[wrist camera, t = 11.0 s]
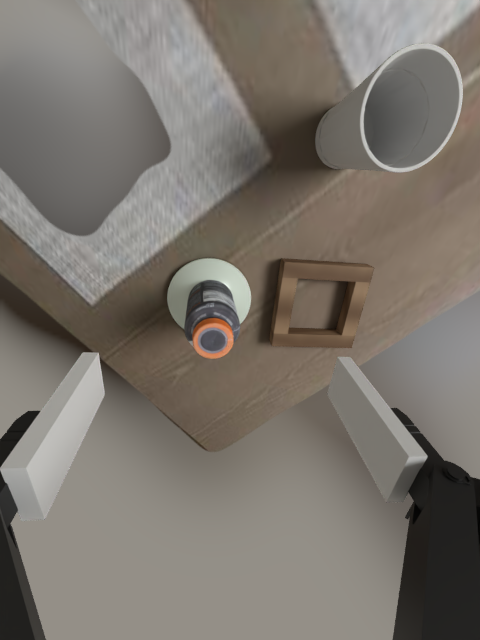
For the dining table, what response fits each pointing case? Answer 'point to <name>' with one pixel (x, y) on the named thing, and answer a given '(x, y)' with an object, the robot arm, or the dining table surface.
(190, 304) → the pill bottle
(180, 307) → the pale green rounded part
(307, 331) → the open wooden frame
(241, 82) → the dining table surface
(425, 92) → the cup
